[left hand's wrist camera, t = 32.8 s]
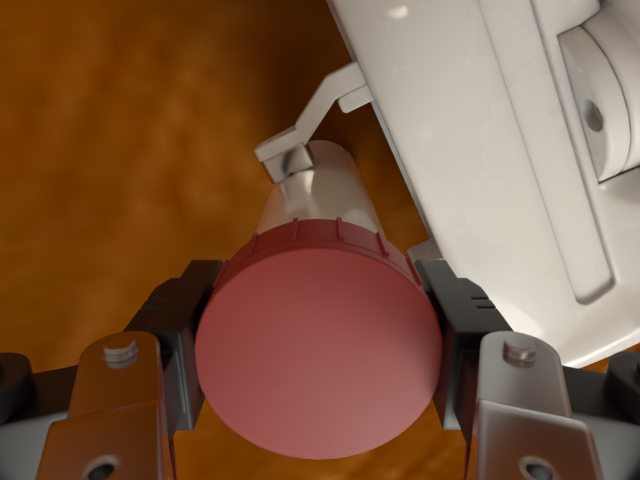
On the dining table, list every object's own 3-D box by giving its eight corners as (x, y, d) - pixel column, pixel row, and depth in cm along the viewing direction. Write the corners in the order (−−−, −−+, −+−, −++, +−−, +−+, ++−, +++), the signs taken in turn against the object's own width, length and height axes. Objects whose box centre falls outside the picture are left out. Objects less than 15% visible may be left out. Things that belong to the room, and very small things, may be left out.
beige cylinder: (263, 191, 24) (187, 352, 10) (308, 122, 23) (291, 202, 9) (329, 233, 25) (341, 436, 11) (376, 170, 24) (455, 309, 10)
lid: (454, 369, 11) (477, 421, 10) (264, 431, 12) (255, 489, 10) (387, 180, 10) (401, 203, 8) (170, 263, 10) (142, 301, 9)
